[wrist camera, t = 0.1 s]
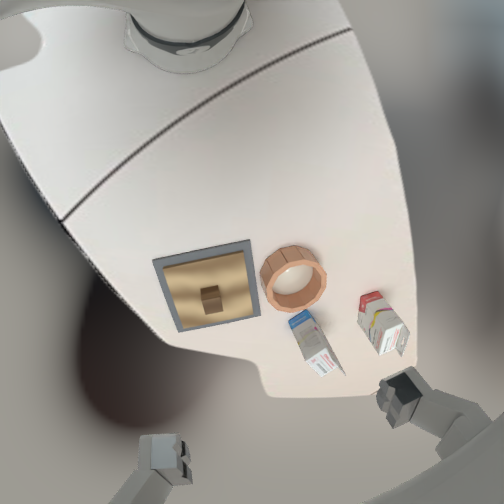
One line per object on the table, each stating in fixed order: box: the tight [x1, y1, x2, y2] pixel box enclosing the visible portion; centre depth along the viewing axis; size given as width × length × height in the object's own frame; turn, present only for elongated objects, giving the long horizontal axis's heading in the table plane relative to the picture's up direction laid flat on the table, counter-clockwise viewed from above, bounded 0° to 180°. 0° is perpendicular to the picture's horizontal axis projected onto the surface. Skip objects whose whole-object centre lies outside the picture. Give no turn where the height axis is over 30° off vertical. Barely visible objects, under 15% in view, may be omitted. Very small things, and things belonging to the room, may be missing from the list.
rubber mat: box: [152, 239, 261, 333], centre depth 53 cm, size 17×17×1 cm
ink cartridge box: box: [357, 291, 410, 357], centre depth 58 cm, size 9×5×15 cm, turn 8°
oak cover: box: [163, 250, 253, 329], centre depth 51 cm, size 14×14×4 cm
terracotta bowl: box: [260, 246, 327, 313], centre depth 52 cm, size 11×11×5 cm
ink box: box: [288, 310, 346, 377], centre depth 56 cm, size 8×5×15 cm, turn 34°
